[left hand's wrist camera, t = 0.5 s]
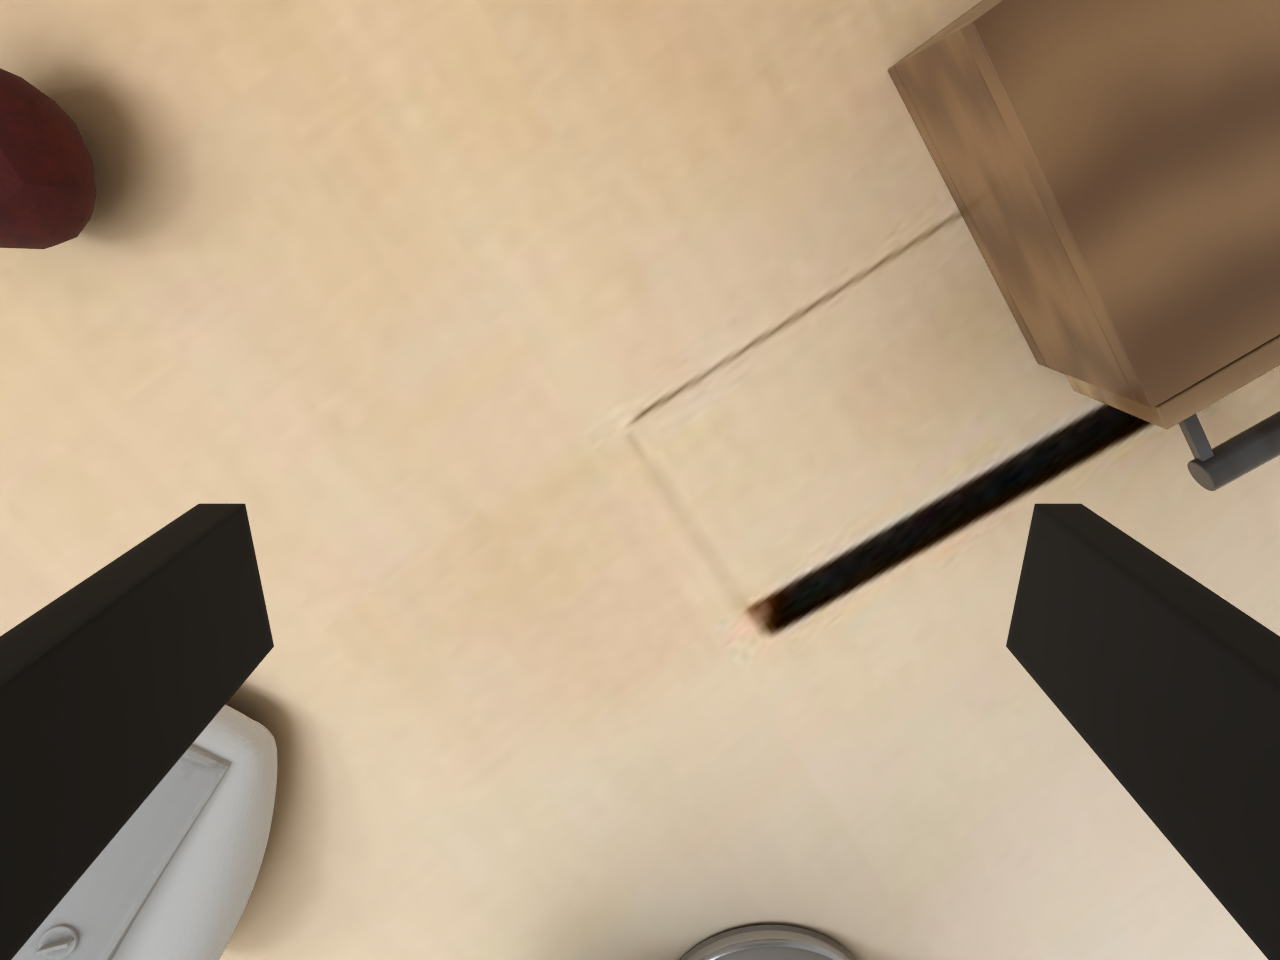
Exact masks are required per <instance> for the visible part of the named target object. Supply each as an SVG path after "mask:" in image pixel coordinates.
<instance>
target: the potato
mask: <svg viewBox="0 0 1280 960" xmlns="http://www.w3.org/2000/svg"><path fill="white" fill-rule="evenodd" d="M95 197H96V189H95V181H94V174H93V167H92V161H91V158H90V156H89V153H88V151H87V149H86V147H85V144H84V142H83V140H82V138H81V135H80V133H79V131H78V129H77V126H76V124H75V123H74V122H73V121H72V120H71V118H70V117H69V116H68V115H67V114H66V113H65V112H64V111H63V110H62V109H61V108H60V107H59V106H58V105H57V103H56V102H55V101H53V100H52V99H50V98H49V97H48V96H46V95H45V94H44V93H42V92H41V91H39V90H38V89H37V88H35V87H34V86H32V85H31V84H30V83H28V82H27V81H25V80H24V79H23V78H21V77H19V76H16V75H14V74H12V73H10V72H7V71H5V70H3V69H1V68H0V248H28V249H45V248H49V247H52V246H55V245H58V244H60V243H63V242H65V241H68V240H70V239H73V238H75V237H77V236H78V235H79V234H80V232H81V231H82V229H83V228H84V227H85V225H86V224H87V223H88V221H89V220H90V218H91V216H92V212H93V207H94V202H95Z"/></svg>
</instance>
